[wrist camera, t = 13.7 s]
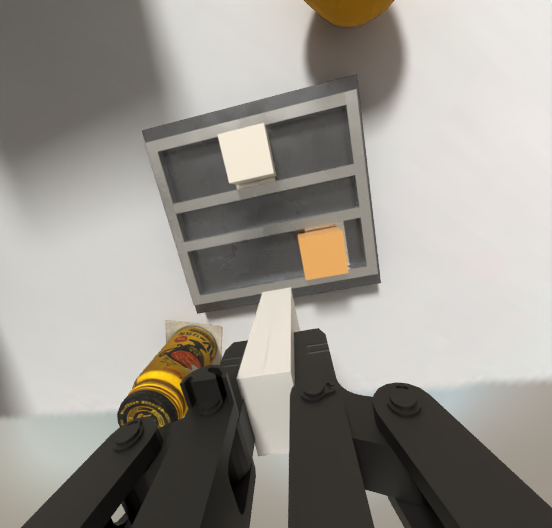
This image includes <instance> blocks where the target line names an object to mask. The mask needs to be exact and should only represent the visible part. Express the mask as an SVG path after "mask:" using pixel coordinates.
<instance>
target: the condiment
mask: <svg viewBox="0 0 552 528" xmlns="http://www.w3.org/2000/svg"><path fill="white" fill-rule="evenodd" d="M221 345H222V326H215V325H207V324H199V323H190V322H176V321H168V320H166V345H165V346H164V347H163V348H162V349H161V351H160V352H159V353H158V354H157V355H156V356H155V357H154V359H153V360H152V361H151V362H150V363H149V365H148V366H147V367H146V368H145V369H144V370H143V372H142V373H141V374H140V375H139V377H138V378H137V379H136V381H135V382H134V385H133V388H132V390H131V391H130V393H129V394H128V396H127V397H126V398H125V399H124V401H123V402H122V403H121V405H120V408H119V411H118V414H117V415H118V416H117V417H118V424H119V426H120V427H121V426H123V425H124V424H126V423H128V422H129V421H132V420H134V419H137V418H140V417H151V418H153V419H154V420H155V422H156V424H157V426H158V428H160V427H162V426H165V425H167V424H170V423H172V422H175V421H178V420H180V419H182V417H183V416H185V414H186V412H187V410H188V407H187V404H186V401H185V398H184V395H183V393H182V390H181V387H180V383H181V381H182V380H183V379H184V378H185V377H186V376H187V375H188V374H190V373H191V372H192V371H194V370H197V369H199V368H201V367H204V366H208V365H220V363H221Z"/></svg>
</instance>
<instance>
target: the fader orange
mask: <svg viewBox="0 0 552 528" xmlns="http://www.w3.org/2000/svg"><path fill="white" fill-rule="evenodd" d="M298 241H299V247H300V252H301V257H302V263H303V268H304V273H305V279H306V280H311V279H317V278H323V277H328V276H334V275H340V274H346V273H349V272H348V265H347V258H346V251H345V244H344V237H343V231H342V230H341V229H340V228H338V227H337V226H334V227H329V228H324V229H319V230H314V231H309V232H304V233H299V234H298Z"/></svg>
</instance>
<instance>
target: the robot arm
mask: <svg viewBox="0 0 552 528" xmlns="http://www.w3.org/2000/svg"><path fill="white" fill-rule="evenodd" d="M180 387H181V390H182V393H183V395H184V398H185V401H186V404H187V407H188V410H187V412H186V414H185V417H184V418H182V419H180V420H178V421H175V422H172V423H170V424H167V425H165V426H162V427H160V428H158V426H157V424H156V422H155V420H154V419H153V418H151V417H140V418H137V419H134V420H132V421H129V422H128V423H126V424H124V425H123V426H121V427H120V428H118V429H117V430H116V431H115V432H114V433H113V434H112V435H110V437H108V438H107V439H106V441H105V442H104V443H103V444H102V445H101V446H100V447H99V448H98V449H97V450H96V451H95V452H94V453H93V454H92V455H91V456H90V457H89V458H88V459H87V460H86V461H85V462H84V463H83V464H82V465H81V466H80V467H79V468H78V469H77V471H76V472H75V473H73V475H72V476H71V477H70V478H69V479H68V480H67V481H66V482H65V483H64V484H63V485H62V486H61V487H60V488H59V489H58V490H57V491H56V492H55V493H54V494H53V495H52V496H51V497H50V498H49V499H48V500H47V501H46V502H45V503H44V504H43V506H41V507H40V509H39V510H38V511H37V512H36V513H35V514H34V515H33V516H32V517H31V518H30V519H29V520H28V521H27V522H26V523H25V524H24V525H23V526H22V527H21V528H249V525H250V518H251V510H252V502H253V493H254V486H255V478H256V473H255V465H254V462H253V458H252V456H253V450H254V443H255V446H256V449H257V453H258V456H265V455H274V454H283V453H289V508H288V514H289V515H288V528H374V525H373V521H372V516H371V513H370V509H369V504H368V500H367V496H366V492H365V490H369V491H373V492H376V493H380V494H383V495H387V496H388V499H389V500H390V502H391V504H392V506H393V508H394V509H395V511H396V513H397V515H398V517H399V519H400V520H401V522H402V524H403V526H404V528H552V508H551V507H550V506H549V505H548V504H547V503H546V502H545V501H544V500H543V499H542V498H540V497H539V496H538V495H537V494H536V493H535V492H534V491H533V490H532V489H531V488H530V487H529V486H528V485H526V484H525V483H524V482H523V481H522V480H521V479H520V478H519V477H518V476H517V475H516V474H515V473H514V472H512V471H511V470H510V469H509V468H508V467H507V466H506V465H505V464H504V463H503V462H502V461H501V460H499V459H498V458H497V457H496V456H495V455H494V454H493V453H492V452H491V451H490V450H489V449H488V448H487V447H485V446H484V445H483V444H482V443H481V442H480V441H479V440H478V439H477V438H476V437H474V435H472V434H471V433H470V432H469V431H468V430H467V429H466V428H465V427H464V426H463V425H462V424H461V423H460V422H458V421H457V420H456V419H455V418H454V417H453V416H452V415H451V414H450V413H449V412H448V411H447V410H446V409H444V408H443V407H442V406H441V405H440V404H439V403H438V402H437V401H436V400H435V399H434V398H433V397H431V396H430V395H429V394H428V393H426V392H425V391H424V390H422V389H421V388H419V387H416V386H413V385H410V384H406V383H391V384H386V385H384V386H382V387H380V388H378V390H377V391H376V392H375V394H374V396H373V397H370V396H362V395H358V394H354V393H351V392H349V391H347V390H346V389H344V388H343V387H342V386H341V385H340V384H339V383H338V381H337V379H336V376H335V372H334V368H333V363H332V359H331V355H330V351H329V347H328V343H327V339H326V335H325V334H324V333H323V332H322V331H321V330H320V329H319V328H318V329H311V330H305V331H300V329H299V324H298V320H297V315H296V310H295V305H294V300H293V295H292V290H291V287H290V288H284V289H278V290H273V291H267V292H262V296H261V299H260V302H259V306H258V309H257V312H256V316H255V319H254V322H253V326H252V329H251V332H250V336H249V339H248V340H247V341H241V342H234V343H233V344H232V345H231V346H230V347H229V348H228V349H227V350H226V351H225V353H224V356H223V358H222V361H221V363H220V365H208V366H204V367H201V368H199V369H197V370H194V371H192V372H191V373H190V374H188V375H187V376H186V377H185V378H184V379H183V380H182V381H181V383H180ZM120 504H122V506H123V508H124V510H125V514H124V515H123V516H122V517H121V518H120V519H119V521H118V522H115V523H113V521H112V519H111V516H112V515H113V514H114V512H115V511H116V510H117V508H118V507H119V506H120Z"/></svg>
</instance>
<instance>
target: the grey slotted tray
mask: <svg viewBox="0 0 552 528" xmlns="http://www.w3.org/2000/svg"><path fill="white" fill-rule="evenodd" d="M261 123H264V124H265V127H266V129H267V132H268V136H269V141H270V146H271V151H272V156H273V161H274V166H275V171H276V176H275V177H271V178H266V179H262V180H257V181H253V182H248V183H244V184H240V185H235V184H230V183H229V181H228V176H227V172H226V168H225V164H224V160H223V156H222V151H221V147H220V143H219V139H218V135H217V134H221V133H225V132H229V131H233V130H237V129H241V128H245V127H249V126H253V125H257V124H261ZM142 133H143V136H144V139H145V146H146V149H147V153H148V156H149V159H150V163H151V166H152V169H153V172H154V176H155V179H156V182H157V186H158V189H159V192H160V195H161V199H162V202H163V205H164V209H165V212H166V215H167V218H168V222H169V225H170V228H171V232H172V235H173V238H174V241H175V245H176V248H177V251H178V255H179V258H180V261H181V264H182V268H183V271H184V274H185V278H186V281H187V284H188V287H189V291H190V294H191V297H192V301H193V304H194V305H195V308H196V311H197V314H198V313H204V312H210V311H216V310H222V309H228V308H234V307H240V306H246V305H251V304H257V303H259V302H260V299H261V296H262V292H267V291H273V290H278V289H284V288H290V287H291V290H292V295H293V297H299V296H305V295H311V294H317V293H323V292H329V291H335V290H341V289H347V288H353V287H359V286H365V285H371V284H377V283H381V280H380V271H379V263H378V254H377V245H376V237H375V228H374V219H373V210H372V202H371V193H370V184H369V176H368V167H367V158H366V149H365V141H364V132H363V123H362V115H361V106H360V97H359V89H358V80H357V74H356V75H352V76H349V77H345V78H341V79H337V80H333V81H330V82H326V83H322V84H318V85H314V86H310V87H307V88H303V89H299V90H295V91H291V92H287V93H284V94H280V95H276V96H272V97H268V98H265V99H261V100H257V101H253V102H249V103H245V104H242V105H238V106H234V107H230V108H226V109H222V110H219V111H215V112H211V113H207V114H203V115H199V116H196V117H192V118H188V119H184V120H180V121H177V122H173V123H169V124H165V125H161V126H157V127H154V128H150V129H146V130H142ZM334 226H337V227H338V228H340V229H341V230H342V231H343V237H344V244H345V251H346V258H347V265H348V272H349V273H346V274H340V275H334V276H328V277H323V278H317V279H311V280H306V279H305V273H304V268H303V263H302V257H301V252H300V247H299V241H298V234H299V233H304V232H309V231H314V230H319V229H324V228H329V227H334Z"/></svg>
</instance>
